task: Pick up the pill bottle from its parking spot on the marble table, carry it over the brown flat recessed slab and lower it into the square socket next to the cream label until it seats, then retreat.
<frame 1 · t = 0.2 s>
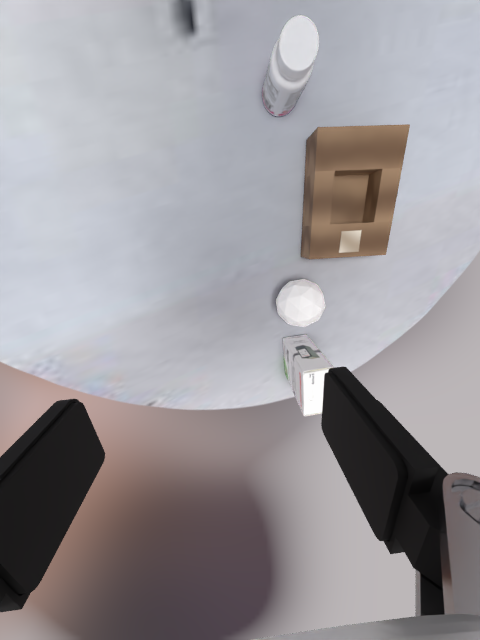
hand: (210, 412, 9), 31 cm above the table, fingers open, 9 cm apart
geometric ball: (292, 297, 40), on the table
brown flat recessed slab: (341, 201, 34), on the table
ink box: (294, 353, 44), on the table
pill bottle: (278, 95, 29), on the table
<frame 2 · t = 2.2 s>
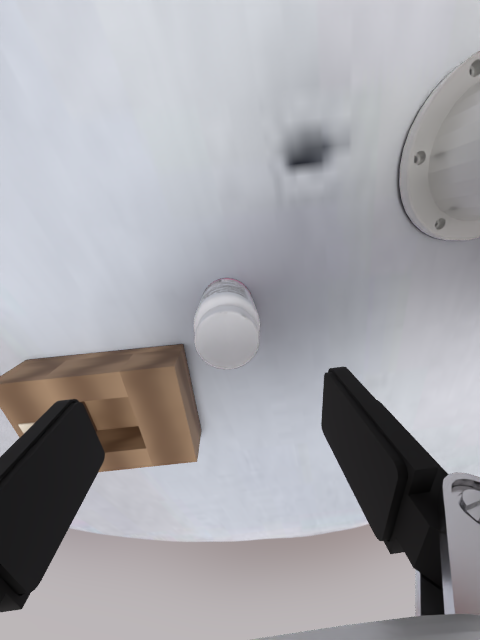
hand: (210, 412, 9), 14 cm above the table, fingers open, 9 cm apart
brown flat recessed slab: (122, 398, 25), on the table
pill bottle: (227, 301, 21), on the table
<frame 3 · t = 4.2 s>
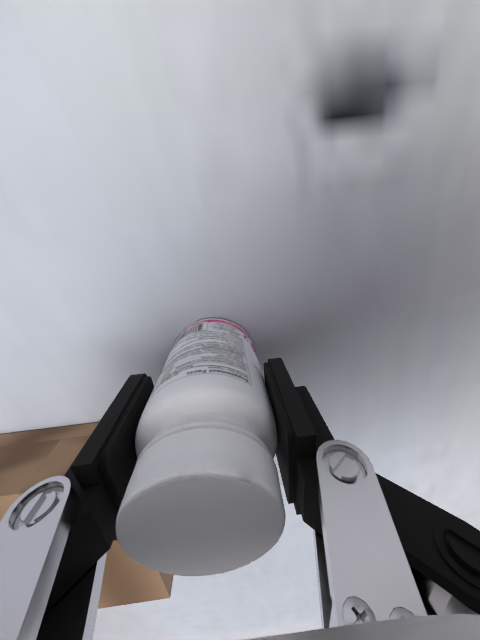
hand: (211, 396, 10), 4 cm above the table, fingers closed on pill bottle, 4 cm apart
brown flat recessed slab: (56, 492, 16), on the table
pill bottle: (215, 351, 13), on the table, touching gripper
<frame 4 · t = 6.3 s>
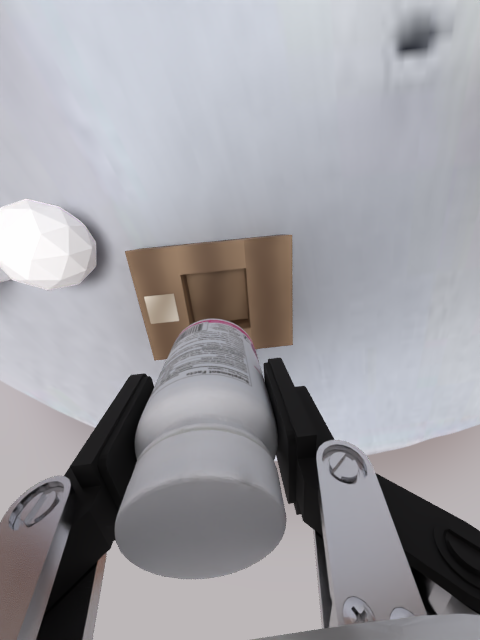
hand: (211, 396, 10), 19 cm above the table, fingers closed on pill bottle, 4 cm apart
geometric ball: (74, 245, 24), on the table
brown flat recessed slab: (218, 293, 27), on the table
pill bottle: (215, 352, 13), point 15 cm above the table, touching gripper
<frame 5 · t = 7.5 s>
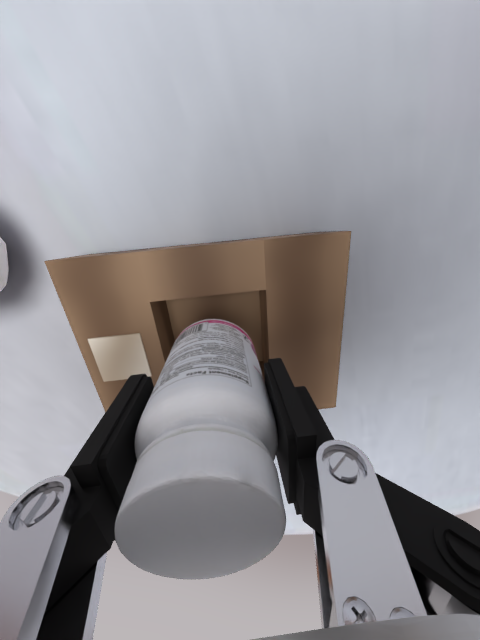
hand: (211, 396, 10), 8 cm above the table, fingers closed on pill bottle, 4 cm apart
brown flat recessed slab: (217, 323, 17), on the table
pill bottle: (215, 352, 13), point 5 cm above the table, touching gripper
when the fingers open (6 cm above the table, at t = 8.6 s): pill bottle drops 1 cm, resting on brown flat recessed slab.
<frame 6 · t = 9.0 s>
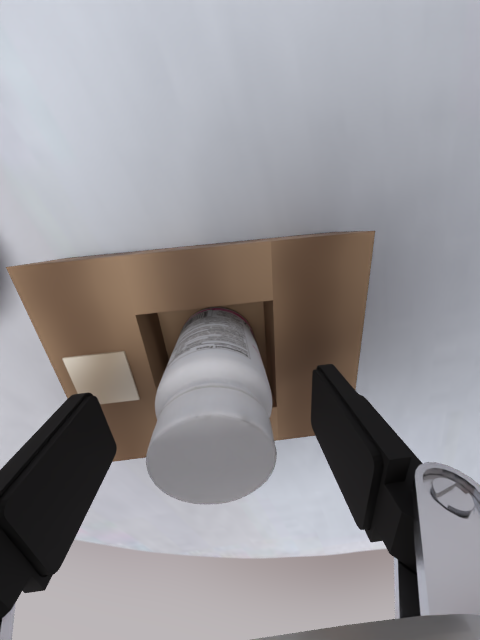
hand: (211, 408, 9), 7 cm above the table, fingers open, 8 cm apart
brown flat recessed slab: (216, 334, 15), on the table
pill bottle: (218, 338, 15), point 1 cm above the table, touching brown flat recessed slab
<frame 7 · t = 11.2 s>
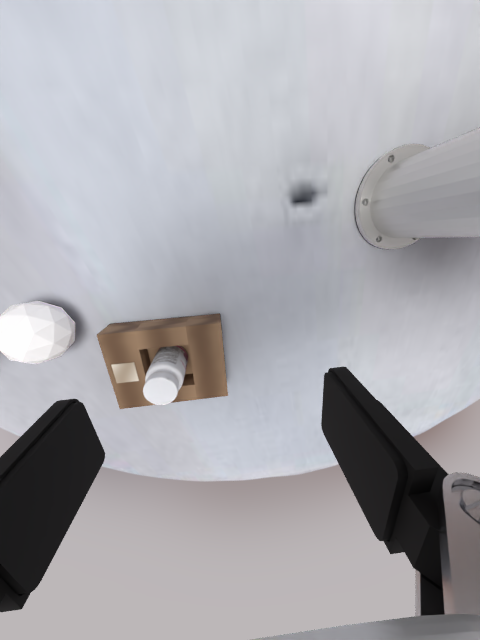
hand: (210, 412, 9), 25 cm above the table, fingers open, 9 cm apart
geometric ball: (57, 321, 31), on the table
brown flat recessed slab: (172, 354, 35), on the table
pill bottle: (173, 356, 34), point 1 cm above the table, touching brown flat recessed slab
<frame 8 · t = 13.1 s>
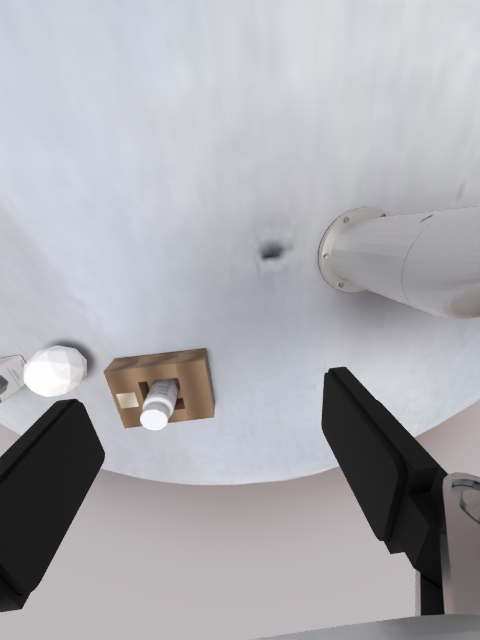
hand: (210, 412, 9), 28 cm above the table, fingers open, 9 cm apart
geometric ball: (73, 357, 38), on the table
brown flat recessed slab: (167, 381, 41), on the table
ink box: (5, 369, 38), on the table
pill bottle: (167, 383, 40), point 1 cm above the table, touching brown flat recessed slab
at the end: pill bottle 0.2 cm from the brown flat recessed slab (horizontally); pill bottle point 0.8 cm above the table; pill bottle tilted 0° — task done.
